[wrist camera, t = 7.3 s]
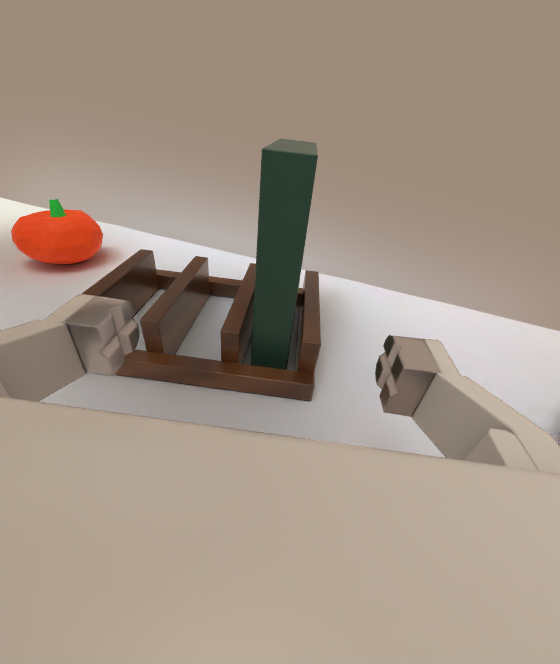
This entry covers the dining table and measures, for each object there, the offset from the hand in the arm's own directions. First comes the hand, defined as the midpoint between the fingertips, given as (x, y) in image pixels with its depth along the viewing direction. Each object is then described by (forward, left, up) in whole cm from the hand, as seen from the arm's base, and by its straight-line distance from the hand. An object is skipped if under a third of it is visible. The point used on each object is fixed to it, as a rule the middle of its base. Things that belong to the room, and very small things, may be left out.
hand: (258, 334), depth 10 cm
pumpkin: (-24, +22, -10) cm, 34 cm away
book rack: (-5, +13, -9) cm, 17 cm away
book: (0, +13, -9) cm, 16 cm away
